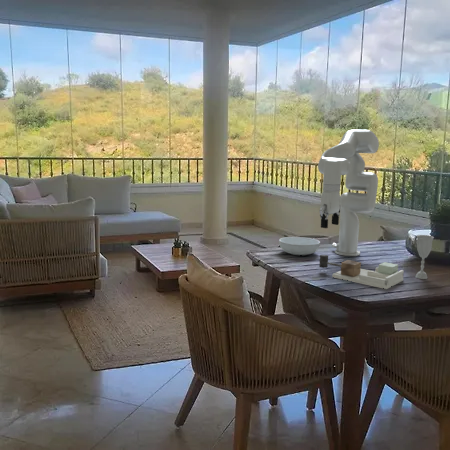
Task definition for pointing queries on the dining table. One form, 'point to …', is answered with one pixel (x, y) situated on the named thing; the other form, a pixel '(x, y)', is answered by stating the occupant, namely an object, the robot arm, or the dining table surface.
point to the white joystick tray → (376, 276)
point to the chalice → (423, 252)
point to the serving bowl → (299, 245)
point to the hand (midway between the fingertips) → (329, 226)
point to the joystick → (342, 266)
